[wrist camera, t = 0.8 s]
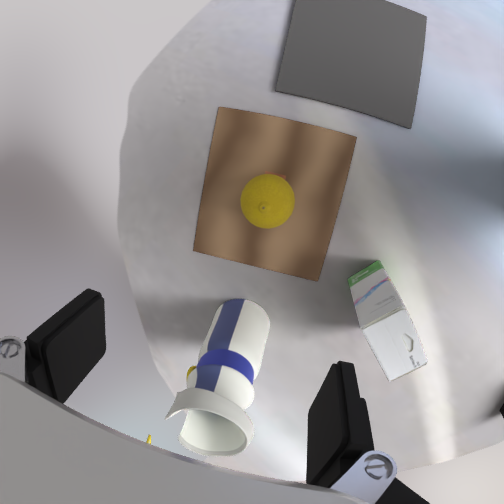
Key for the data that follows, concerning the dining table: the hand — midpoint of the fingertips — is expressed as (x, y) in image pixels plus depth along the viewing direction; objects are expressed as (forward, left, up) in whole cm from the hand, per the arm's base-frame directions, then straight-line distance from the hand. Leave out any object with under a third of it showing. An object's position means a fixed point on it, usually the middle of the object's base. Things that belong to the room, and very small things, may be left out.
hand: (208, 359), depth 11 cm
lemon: (0, -2, -27) cm, 27 cm away
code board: (0, -2, -27) cm, 27 cm away
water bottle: (0, +16, -27) cm, 31 cm away
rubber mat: (-6, -22, -27) cm, 35 cm away
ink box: (-16, +7, -27) cm, 32 cm away
